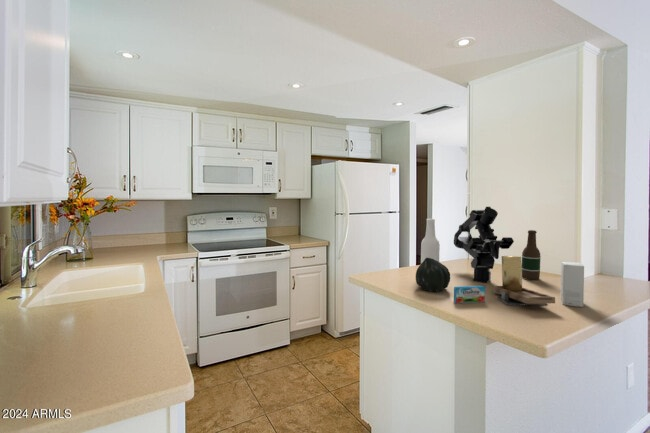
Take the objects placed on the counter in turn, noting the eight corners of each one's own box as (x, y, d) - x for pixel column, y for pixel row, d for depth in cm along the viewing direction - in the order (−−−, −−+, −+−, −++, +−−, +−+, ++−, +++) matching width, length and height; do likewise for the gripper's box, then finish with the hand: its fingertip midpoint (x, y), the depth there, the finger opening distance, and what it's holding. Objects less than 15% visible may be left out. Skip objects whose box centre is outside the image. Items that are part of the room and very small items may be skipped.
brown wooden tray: (492, 291, 138) (492, 285, 138) (516, 290, 139) (516, 285, 139) (527, 303, 115) (526, 297, 116) (555, 303, 116) (555, 297, 116)
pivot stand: (496, 298, 131) (496, 289, 131) (533, 298, 131) (533, 289, 131) (507, 305, 123) (508, 296, 123) (546, 304, 123) (547, 295, 123)
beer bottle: (539, 277, 163) (541, 230, 161) (539, 281, 156) (541, 231, 155) (521, 275, 167) (523, 229, 165) (520, 278, 160) (522, 230, 159)
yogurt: (482, 300, 129) (483, 285, 128) (484, 302, 127) (485, 286, 127) (453, 302, 128) (454, 286, 127) (455, 303, 126) (455, 287, 126)
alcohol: (441, 277, 164) (442, 218, 162) (434, 281, 157) (435, 219, 155) (425, 275, 169) (426, 217, 167) (417, 278, 163) (418, 219, 161)
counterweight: (500, 291, 133) (499, 256, 133) (505, 288, 138) (504, 255, 138) (520, 293, 128) (519, 257, 128) (524, 290, 133) (522, 256, 134)
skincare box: (583, 307, 120) (585, 266, 119) (561, 304, 123) (563, 264, 122) (580, 301, 127) (582, 262, 126) (559, 298, 130) (561, 260, 129)
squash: (461, 277, 143) (439, 250, 149) (447, 286, 132) (424, 256, 138) (438, 293, 151) (418, 266, 157) (423, 302, 140) (402, 273, 146)
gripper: (497, 240, 160) (510, 268, 150) (460, 241, 160) (470, 268, 150) (507, 226, 152) (521, 254, 142) (468, 227, 152) (478, 254, 141)
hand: (497, 258), depth 144 cm, fingers closed
